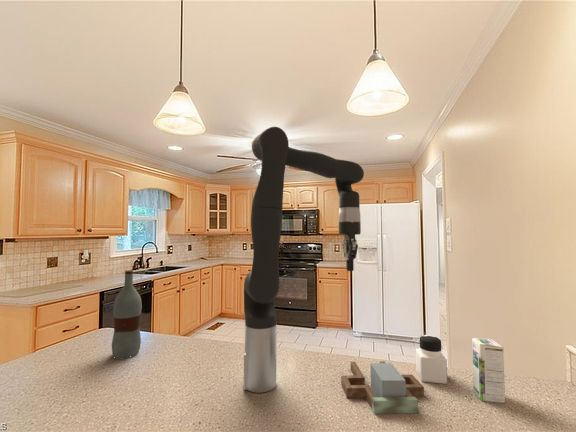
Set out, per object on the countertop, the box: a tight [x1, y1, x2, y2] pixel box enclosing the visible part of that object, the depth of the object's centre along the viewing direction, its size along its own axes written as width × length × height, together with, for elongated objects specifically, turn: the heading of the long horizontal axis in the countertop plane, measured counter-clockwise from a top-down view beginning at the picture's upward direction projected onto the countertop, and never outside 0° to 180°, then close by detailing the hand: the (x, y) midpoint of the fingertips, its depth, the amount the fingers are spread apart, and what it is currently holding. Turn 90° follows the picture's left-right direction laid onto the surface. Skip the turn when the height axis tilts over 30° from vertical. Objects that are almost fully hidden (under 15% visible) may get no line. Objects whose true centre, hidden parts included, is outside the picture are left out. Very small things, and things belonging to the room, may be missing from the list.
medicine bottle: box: [415, 334, 448, 385], centre depth 90 cm, size 7×7×12 cm
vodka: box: [111, 269, 143, 359], centre depth 107 cm, size 9×9×30 cm
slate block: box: [370, 362, 406, 397], centre depth 78 cm, size 6×10×7 cm, turn 0°
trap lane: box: [340, 361, 425, 415], centre depth 83 cm, size 21×23×3 cm
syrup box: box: [471, 337, 506, 404], centre depth 79 cm, size 6×6×14 cm
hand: (350, 270), depth 102 cm, fingers closed
